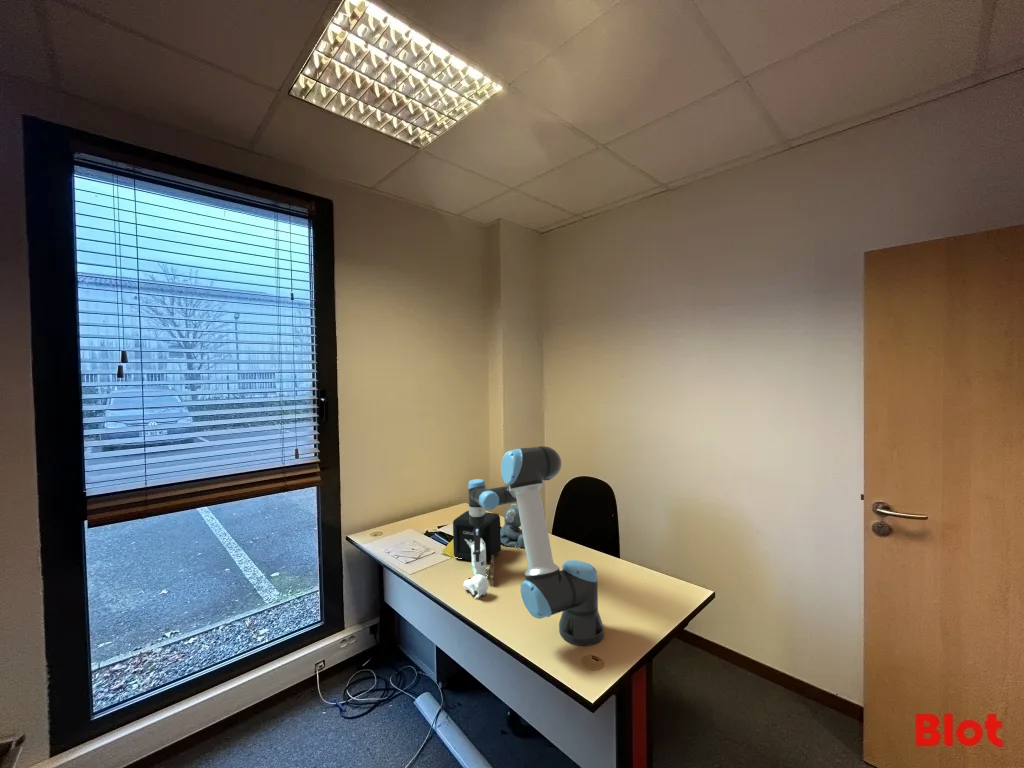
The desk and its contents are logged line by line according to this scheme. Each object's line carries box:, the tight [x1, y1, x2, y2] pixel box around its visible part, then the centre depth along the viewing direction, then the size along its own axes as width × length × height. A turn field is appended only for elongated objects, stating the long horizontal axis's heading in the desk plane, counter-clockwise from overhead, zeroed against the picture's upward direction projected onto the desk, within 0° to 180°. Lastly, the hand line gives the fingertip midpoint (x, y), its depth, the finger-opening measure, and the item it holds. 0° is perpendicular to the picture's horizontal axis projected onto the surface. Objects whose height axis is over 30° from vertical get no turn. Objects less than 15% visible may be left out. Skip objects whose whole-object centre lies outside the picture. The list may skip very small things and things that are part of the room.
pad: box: [485, 567, 490, 578], centre depth 183 cm, size 9×9×1 cm
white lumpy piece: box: [463, 574, 490, 599], centre depth 166 cm, size 6×8×12 cm
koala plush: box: [500, 503, 525, 548], centre depth 218 cm, size 17×18×20 cm
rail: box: [489, 555, 495, 587], centre depth 182 cm, size 22×1×4 cm, turn 2°
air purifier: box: [452, 510, 502, 564], centre depth 201 cm, size 20×15×20 cm
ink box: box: [471, 538, 487, 576], centre depth 182 cm, size 9×5×15 cm, turn 20°
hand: (478, 561), depth 183 cm, fingers open, 13 cm apart
